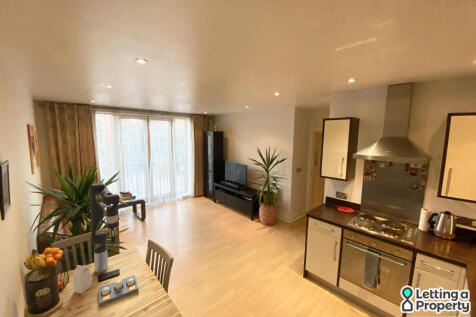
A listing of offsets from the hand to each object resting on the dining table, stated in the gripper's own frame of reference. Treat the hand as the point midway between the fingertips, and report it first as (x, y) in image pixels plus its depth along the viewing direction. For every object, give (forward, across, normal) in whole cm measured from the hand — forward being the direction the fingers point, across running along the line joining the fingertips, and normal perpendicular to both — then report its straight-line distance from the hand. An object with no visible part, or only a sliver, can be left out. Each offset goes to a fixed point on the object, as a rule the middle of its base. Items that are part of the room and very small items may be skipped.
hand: (113, 242), depth 149 cm
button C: (+34, +9, +10) cm, 36 cm away
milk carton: (+35, -8, -20) cm, 41 cm away
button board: (+35, +9, +2) cm, 36 cm away
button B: (+32, +9, +2) cm, 33 cm away
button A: (+34, +9, -6) cm, 35 cm away
